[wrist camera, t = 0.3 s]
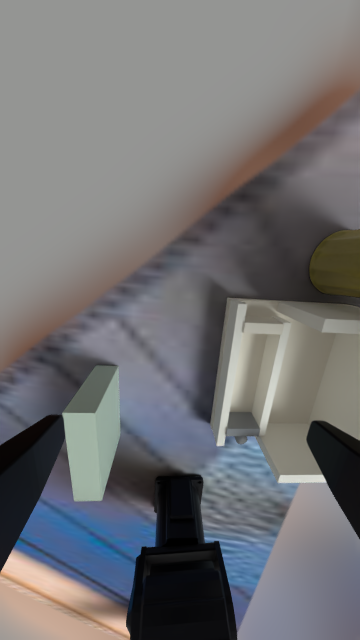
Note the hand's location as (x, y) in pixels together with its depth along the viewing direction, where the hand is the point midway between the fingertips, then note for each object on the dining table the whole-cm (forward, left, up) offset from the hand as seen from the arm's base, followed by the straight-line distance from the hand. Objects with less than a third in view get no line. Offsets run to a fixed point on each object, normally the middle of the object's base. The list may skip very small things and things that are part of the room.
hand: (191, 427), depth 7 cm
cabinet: (-5, -11, -14) cm, 19 cm away
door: (-10, +7, -14) cm, 19 cm away
